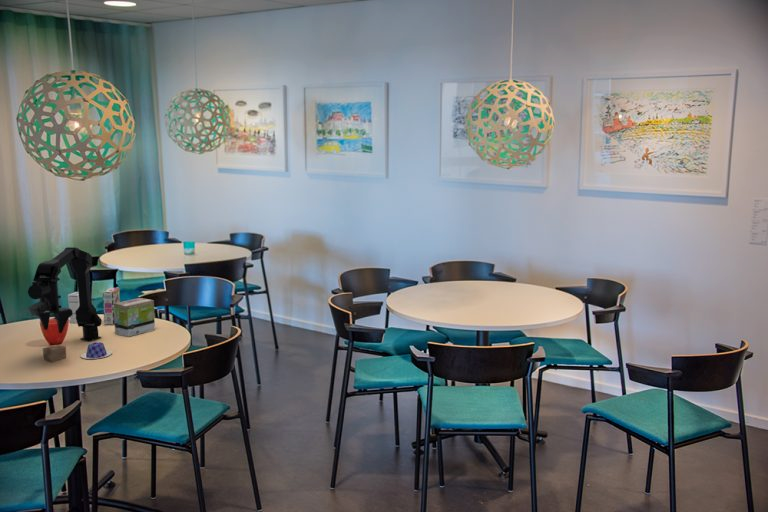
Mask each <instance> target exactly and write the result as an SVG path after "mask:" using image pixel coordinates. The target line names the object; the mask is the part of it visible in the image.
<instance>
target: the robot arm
mask: <svg viewBox="0 0 768 512" xmlns="http://www.w3.org/2000/svg"><path fill="white" fill-rule="evenodd" d="M68 263H70V265H71V268H72V270H73V271H74V273H75V274H76V281H77V292H78V293H79V303H80V306H79V308H78V309H77V310H76V312H75V313H76V320H77V323H76V324H77V326H78V327H79V328H80V327H82V337H81V338H80V339H79V340H81V341H84V342H85V341H86V342H91V341H96V340H100V339H101V338H102V336H100V335H99V329H98V327H101V325H102V318H101V317H100V316H99V315H98V312H97V308H96V307H95V306H94V304H93V303H92V293H91V282H90V273H89V272H90V270H91V269H92V266H93V256H92V255H91V254H90V253H89V252H87V251H84V250H81V249H80V248H78V247H75V246H73V247H65V248H64V250H63V251H61V252H60V253H58V254H57V255H55V257H54V258H52V259H49V260H46V261H45V260H44V261H43V262H40V263H39V264H38V266H37V268H36V271H35V273H34V277H33V279H32V280H33V281H32V282H31V286H29V288H28V290H27V294H28V296H29V298H31V300H39V301H37V302H35V303H34V304H32V305H30V306H29V307H28V310H29V312H30V315H31V316H36V317H37V318H38V319H39V321H40V323H41V325H42V327H43V330H45V331H47V330H48V329H49V324H50V317H51V314H52V315H53V319H54V320H55V321H56V325H57V326H56V327H57V331H58V333H59V334H61V333H63V331H64V328H65V326H66V323H67V322H68V320H70V317H71V316H72V315H73V313H72V310H71V309H69V307H62V304H60V302H59V301H60V299H61V297H62V296H61V295H60V294H59V287H58V282H59V281H60V280H61V279H60V278H59V277H58V276H59V275H60V274H61V272H62V268H63V267H64V266H66V265H67V264H68Z"/></svg>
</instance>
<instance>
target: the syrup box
mask: <svg viewBox="0 0 768 512" xmlns="http://www.w3.org/2000/svg"><path fill="white" fill-rule="evenodd" d="M67 299H68V300H67V301H68V308H69V309H71V310H72V313H73V315H72V316H71V317H69V322H70V323H71V324H77V320H76V313H75V312H76V310H77V309H78V308H79V306H80V303H79V293H78V291H74V292H73V293H69V294H67Z"/></svg>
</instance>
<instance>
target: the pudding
mask: <svg viewBox="0 0 768 512" xmlns="http://www.w3.org/2000/svg"><path fill="white" fill-rule="evenodd" d="M112 352H113V351H111V350H108V349H106V347H105V344H104V343H103V342H101V341H95V342H91V343H88V345H87V349H86V352H83V353H82V354H81V355H80V357H81V358H82V359H86V360H96V359H97V360H98V359H103V358H106V357H108V356H111V355H112Z"/></svg>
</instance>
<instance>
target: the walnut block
mask: <svg viewBox="0 0 768 512" xmlns="http://www.w3.org/2000/svg"><path fill="white" fill-rule="evenodd" d="M42 356H43V361H46V362H50V363H57V362H58V361H59V362H60V361H62V360H65V359H67V350H66V346H63V345H58V344H54V345H50V346H46V347H43V348H42Z"/></svg>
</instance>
